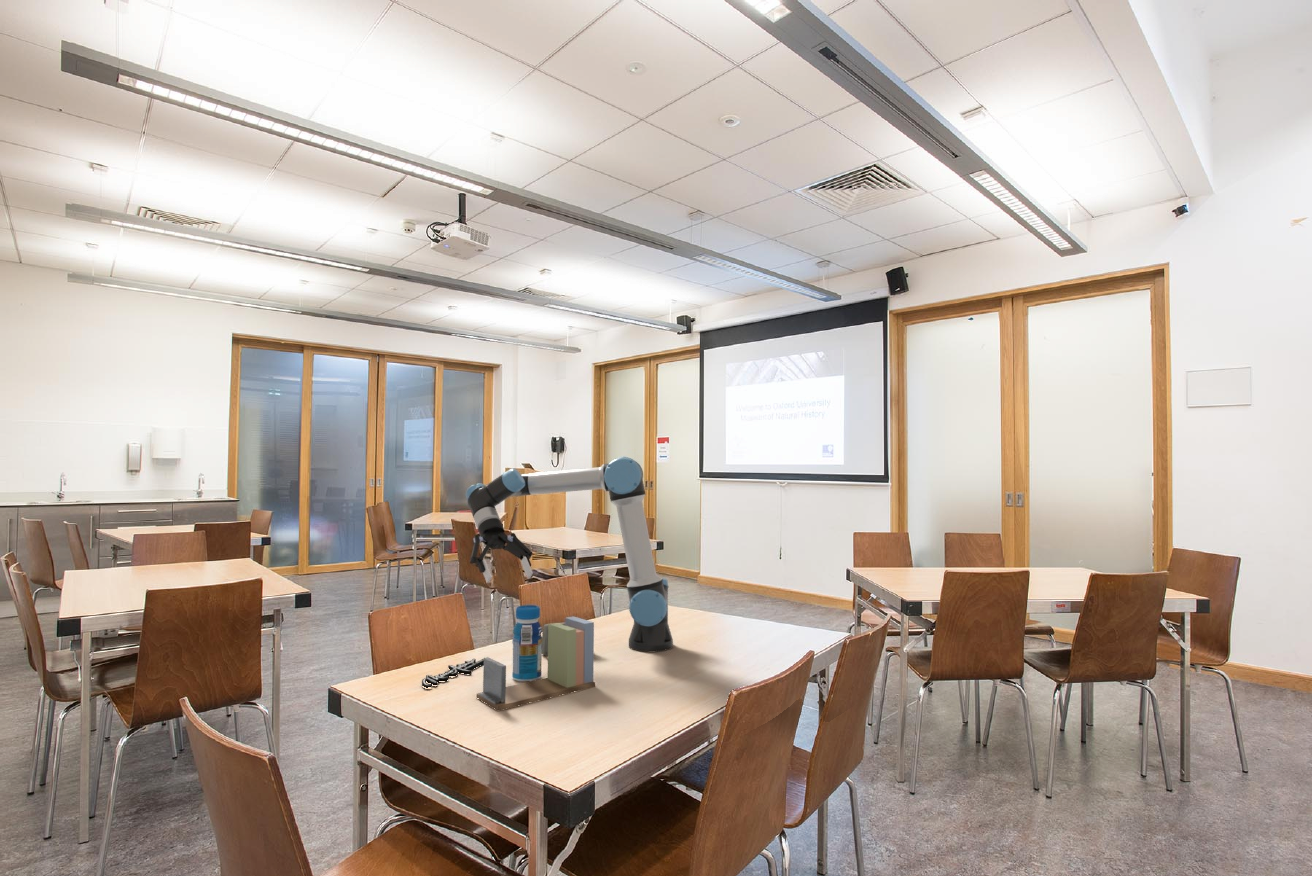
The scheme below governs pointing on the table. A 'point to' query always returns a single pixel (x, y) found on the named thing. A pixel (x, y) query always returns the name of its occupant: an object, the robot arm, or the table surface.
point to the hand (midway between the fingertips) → (510, 578)
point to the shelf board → (534, 692)
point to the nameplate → (452, 672)
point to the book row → (571, 652)
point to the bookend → (494, 681)
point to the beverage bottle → (527, 644)
